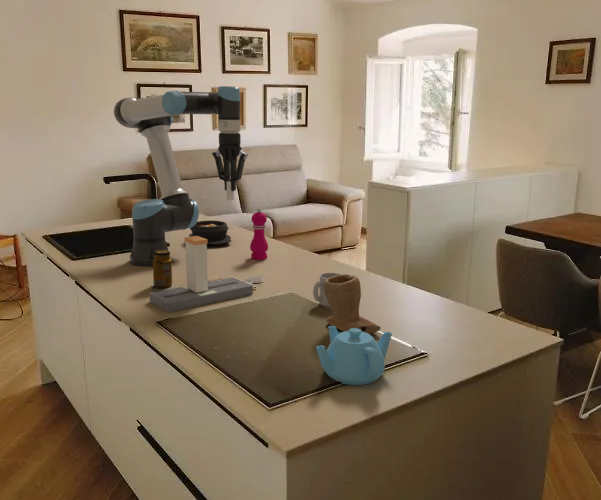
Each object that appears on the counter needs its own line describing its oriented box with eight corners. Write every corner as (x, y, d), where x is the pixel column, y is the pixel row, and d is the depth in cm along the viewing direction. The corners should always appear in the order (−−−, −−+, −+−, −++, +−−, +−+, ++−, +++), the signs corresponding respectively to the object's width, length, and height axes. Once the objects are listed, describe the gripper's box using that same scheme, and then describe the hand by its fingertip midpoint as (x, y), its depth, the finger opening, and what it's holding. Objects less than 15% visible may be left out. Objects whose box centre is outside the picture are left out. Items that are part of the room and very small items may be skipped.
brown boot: (315, 324, 167) (316, 272, 163) (351, 317, 172) (352, 267, 168) (343, 342, 154) (345, 287, 150) (381, 335, 159) (384, 281, 155)
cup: (347, 305, 183) (348, 277, 180) (319, 310, 178) (319, 281, 176) (334, 298, 189) (335, 271, 187) (307, 303, 184) (307, 275, 182)
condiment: (172, 282, 203) (170, 248, 200) (175, 289, 195) (174, 254, 193) (150, 284, 201) (148, 249, 198) (153, 291, 193) (151, 255, 190)
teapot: (311, 383, 131) (312, 337, 128) (328, 356, 145) (329, 315, 142) (379, 394, 127) (382, 346, 124) (390, 365, 141) (393, 322, 138)
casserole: (241, 245, 258) (241, 226, 256) (201, 250, 249) (201, 230, 247) (217, 234, 279) (216, 217, 277) (179, 238, 269) (178, 220, 267)
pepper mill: (269, 256, 240) (269, 207, 236) (266, 260, 233) (266, 210, 229) (251, 255, 241) (251, 206, 236) (248, 259, 234) (248, 209, 229)
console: (232, 285, 201) (232, 276, 200) (252, 293, 192) (252, 285, 191) (149, 301, 183) (149, 292, 182) (167, 312, 174) (167, 303, 173)
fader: (198, 285, 189) (197, 235, 185) (208, 290, 184) (207, 239, 181) (185, 287, 186) (184, 237, 183) (196, 292, 182) (194, 241, 178)
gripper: (207, 132, 205) (209, 200, 210) (241, 133, 200) (242, 202, 206) (218, 131, 211) (219, 197, 217) (251, 132, 207) (251, 199, 212)
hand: (230, 199), depth 211 cm, fingers closed
